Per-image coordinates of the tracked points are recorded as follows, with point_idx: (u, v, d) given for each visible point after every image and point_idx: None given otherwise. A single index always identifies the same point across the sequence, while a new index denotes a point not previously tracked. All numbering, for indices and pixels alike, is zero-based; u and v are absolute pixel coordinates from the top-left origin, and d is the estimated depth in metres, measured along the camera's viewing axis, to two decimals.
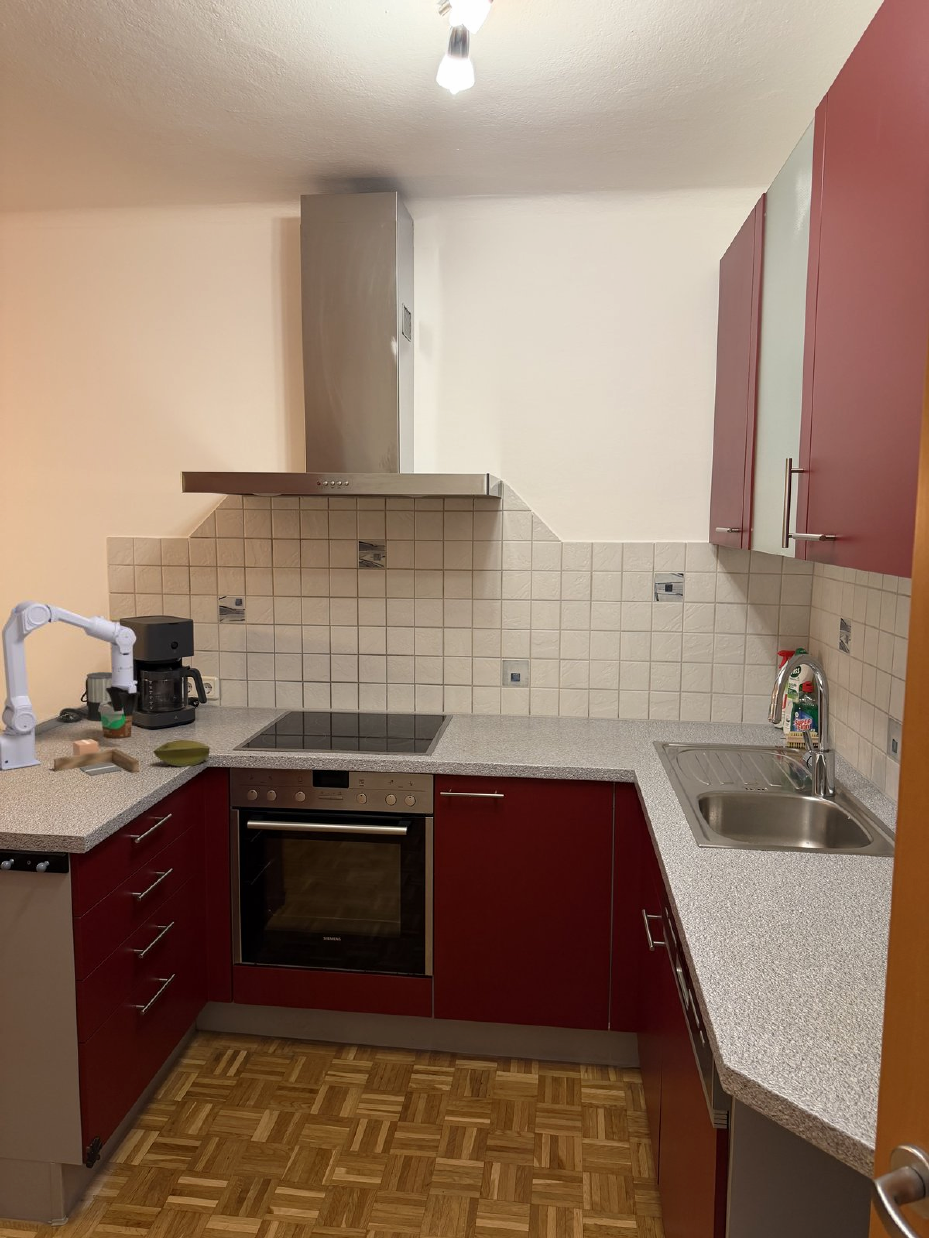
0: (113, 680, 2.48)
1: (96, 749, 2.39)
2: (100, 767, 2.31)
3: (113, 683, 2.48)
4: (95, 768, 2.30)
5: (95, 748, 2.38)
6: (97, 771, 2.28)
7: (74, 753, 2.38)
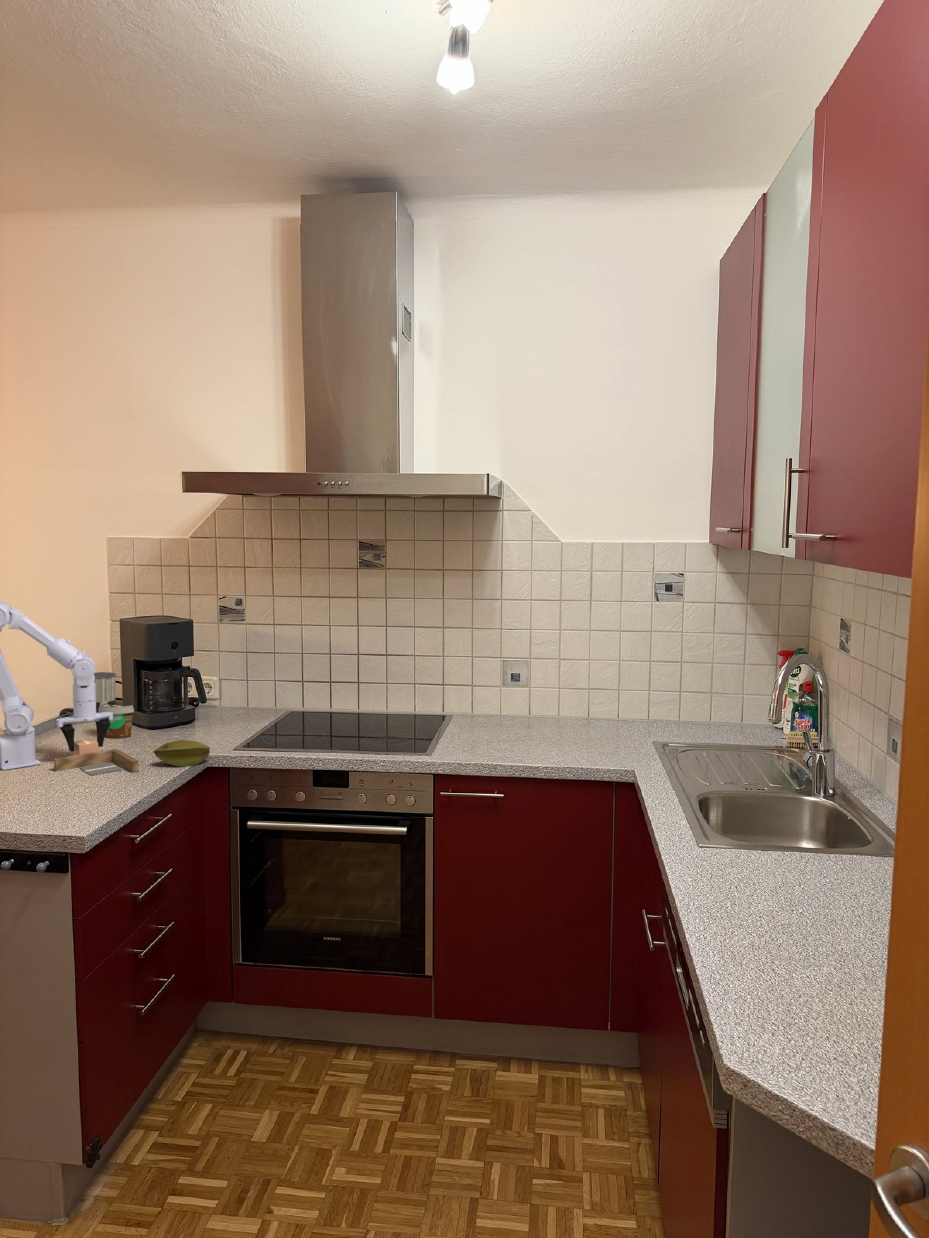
0: None
1: (96, 749, 2.39)
2: (100, 767, 2.31)
3: None
4: (95, 768, 2.30)
5: (95, 748, 2.38)
6: (97, 771, 2.28)
7: (74, 753, 2.38)
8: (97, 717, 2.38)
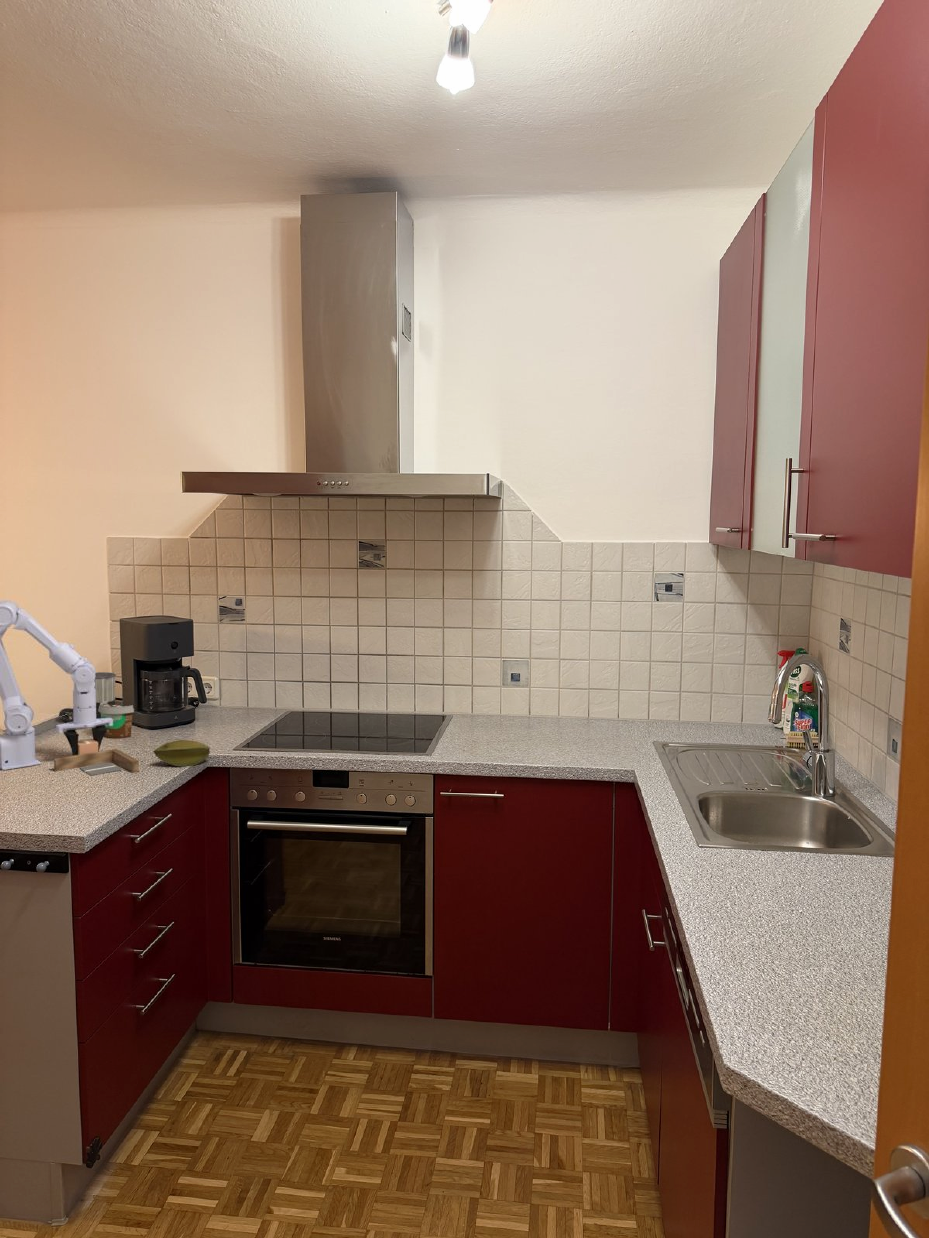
0: None
1: (96, 749, 2.39)
2: (100, 767, 2.31)
3: None
4: (95, 768, 2.30)
5: (95, 748, 2.38)
6: (97, 771, 2.28)
7: None
8: (97, 723, 2.38)
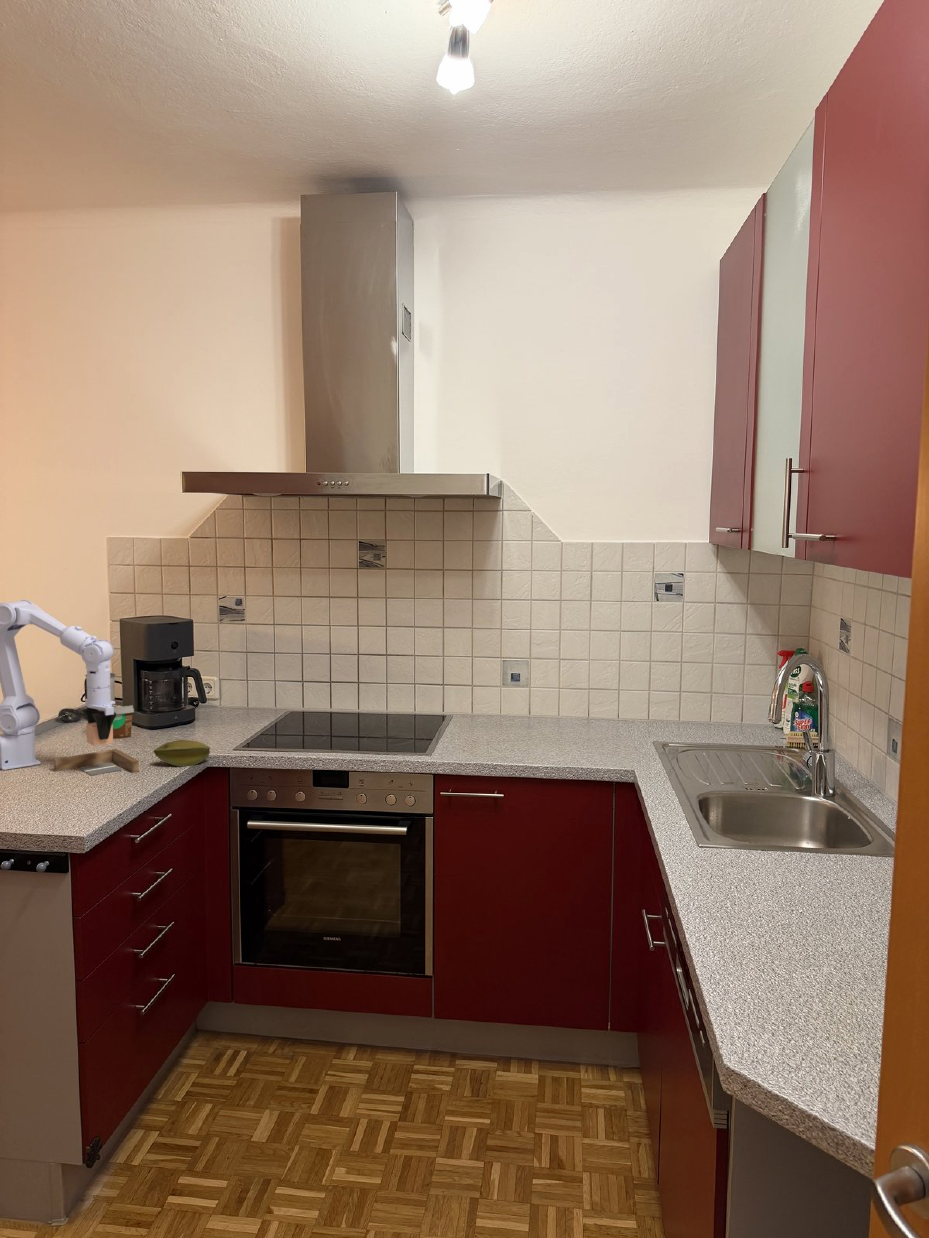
0: (88, 700, 2.26)
1: None
2: (100, 767, 2.31)
3: (88, 704, 2.26)
4: (95, 768, 2.30)
5: None
6: (97, 771, 2.28)
7: None
8: None
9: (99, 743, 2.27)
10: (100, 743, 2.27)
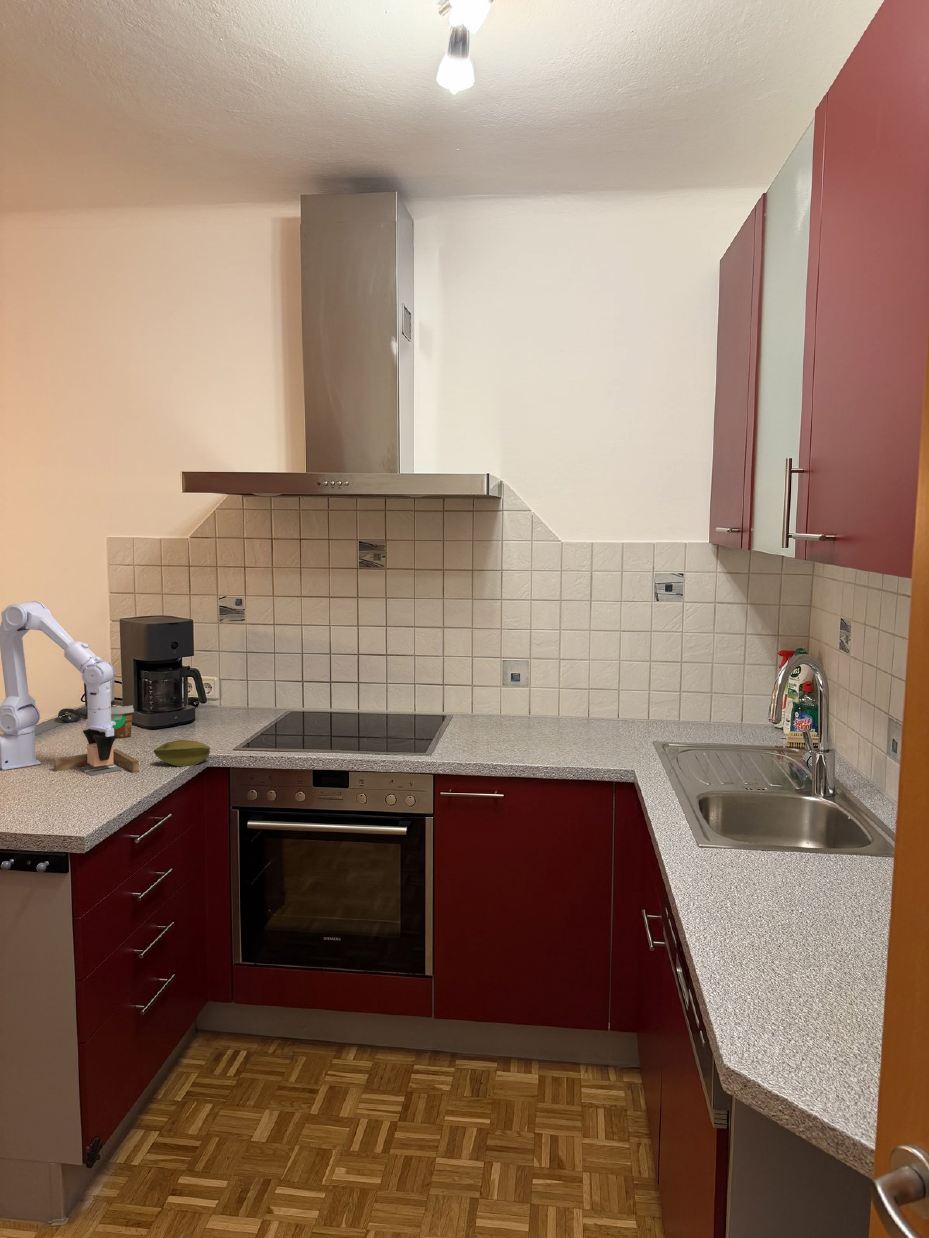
0: (89, 722, 2.27)
1: None
2: (100, 767, 2.31)
3: (89, 725, 2.27)
4: (95, 768, 2.30)
5: None
6: (97, 771, 2.28)
7: None
8: None
9: (99, 764, 2.28)
10: (100, 764, 2.28)
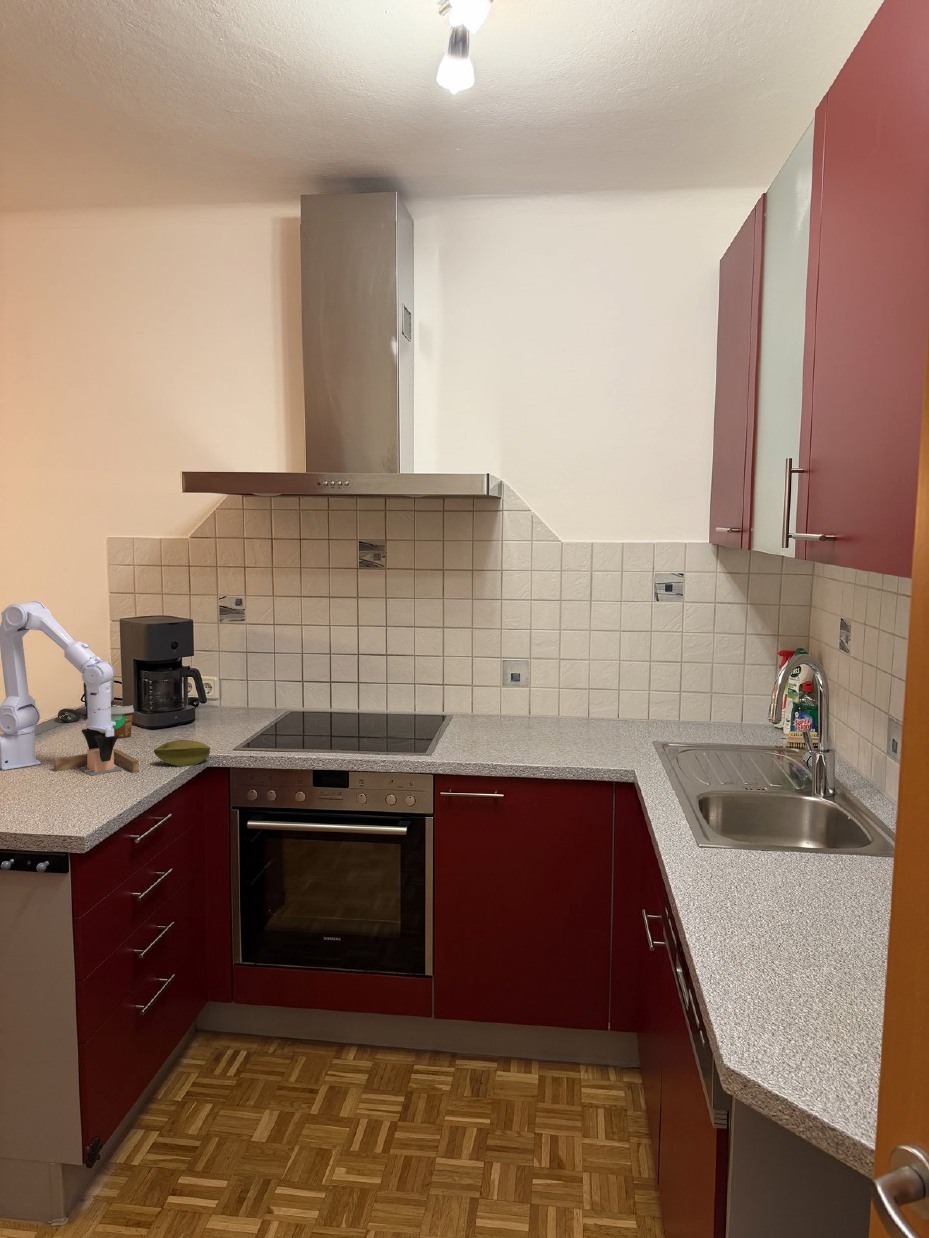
0: (89, 722, 2.27)
1: None
2: None
3: (89, 725, 2.27)
4: None
5: None
6: None
7: (100, 763, 2.28)
8: None
9: (100, 769, 2.28)
10: (101, 769, 2.28)
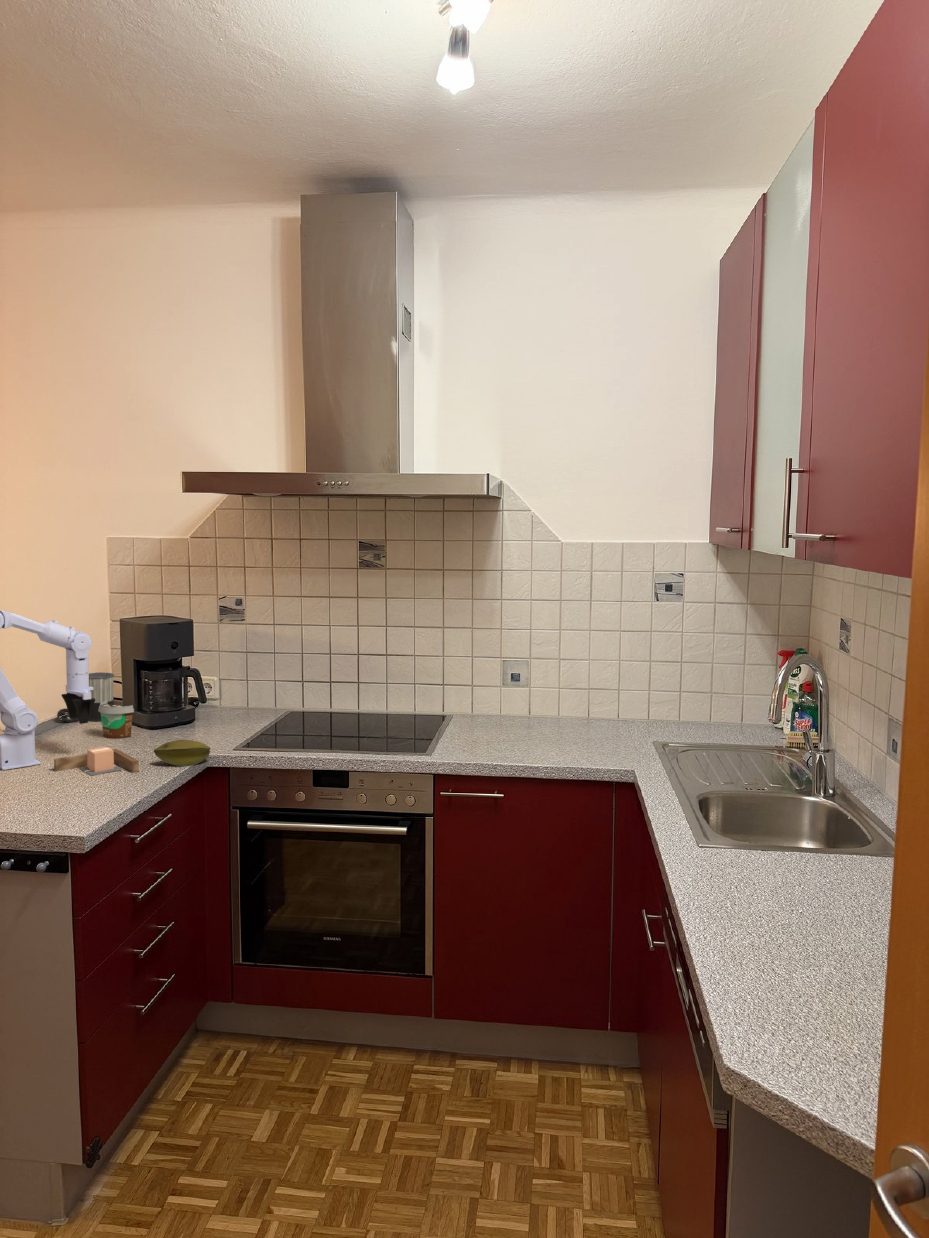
0: (68, 686, 2.41)
1: None
2: None
3: (68, 689, 2.41)
4: None
5: None
6: None
7: (100, 763, 2.28)
8: None
9: (100, 769, 2.28)
10: (101, 769, 2.28)
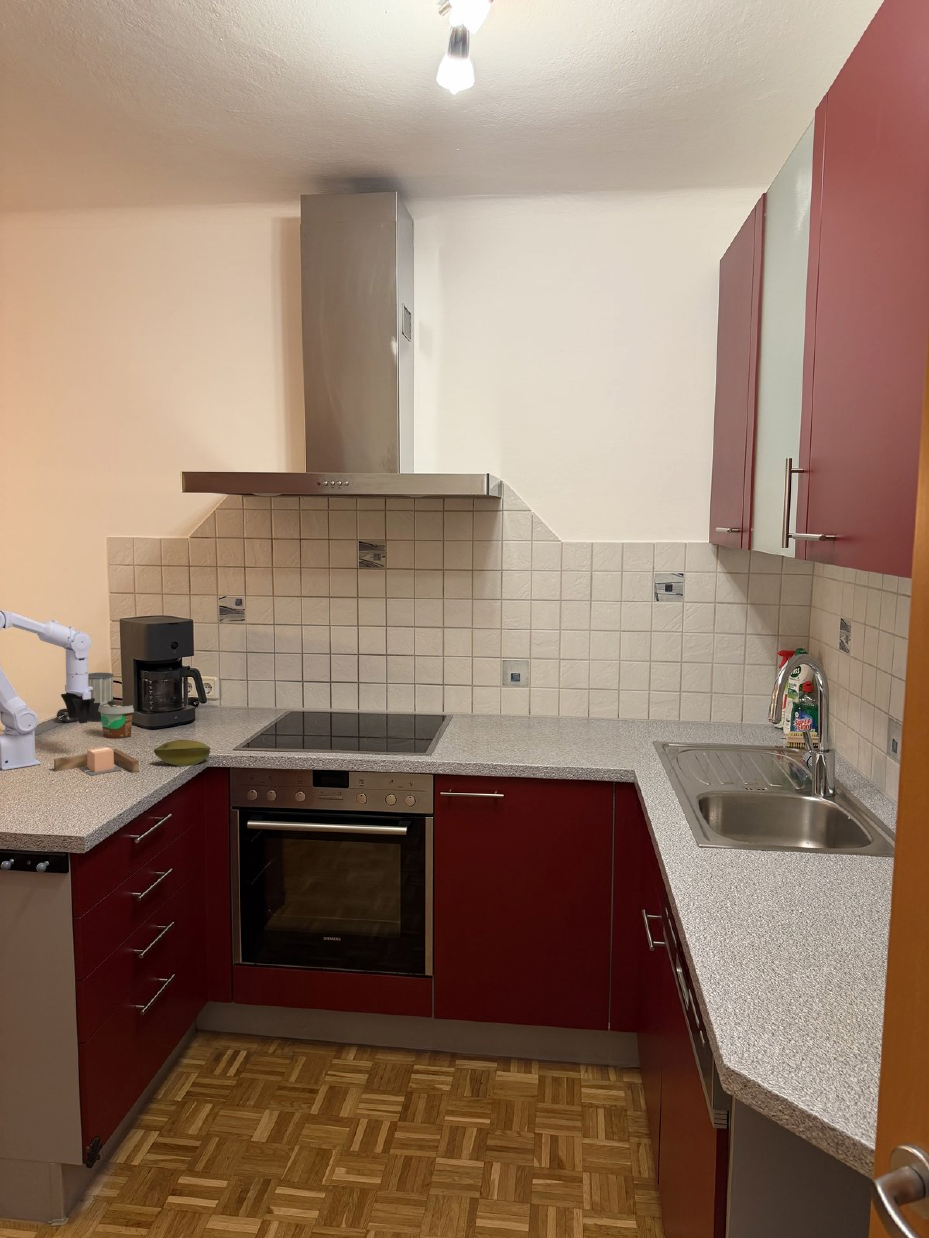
0: (67, 686, 2.41)
1: None
2: None
3: (67, 689, 2.41)
4: None
5: None
6: None
7: (100, 763, 2.28)
8: None
9: (100, 769, 2.28)
10: (101, 769, 2.28)
